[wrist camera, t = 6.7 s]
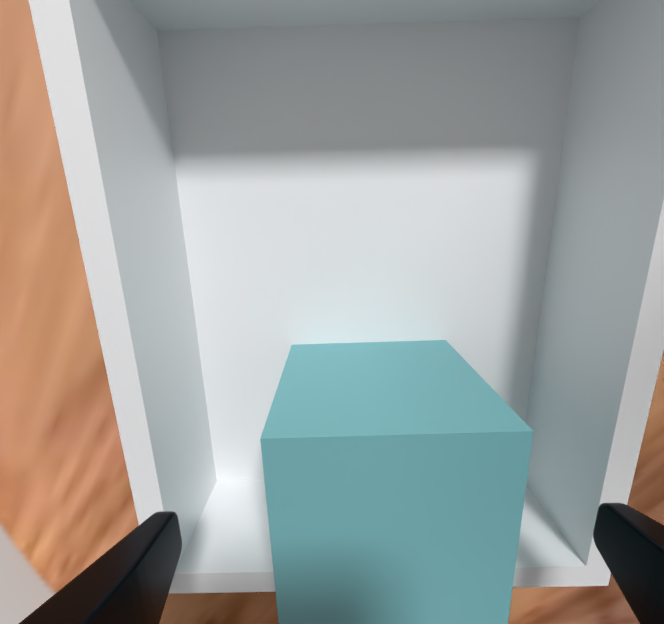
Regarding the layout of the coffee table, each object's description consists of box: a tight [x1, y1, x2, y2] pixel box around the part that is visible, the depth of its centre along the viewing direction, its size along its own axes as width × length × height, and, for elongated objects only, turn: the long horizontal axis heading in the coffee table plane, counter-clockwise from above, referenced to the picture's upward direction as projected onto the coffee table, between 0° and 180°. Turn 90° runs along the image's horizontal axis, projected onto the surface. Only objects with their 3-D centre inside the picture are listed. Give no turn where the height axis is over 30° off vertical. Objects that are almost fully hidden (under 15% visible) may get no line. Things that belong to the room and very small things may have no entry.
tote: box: [29, 0, 664, 594], centre depth 9 cm, size 15×12×4 cm
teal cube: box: [260, 340, 533, 624], centre depth 9 cm, size 5×5×5 cm
